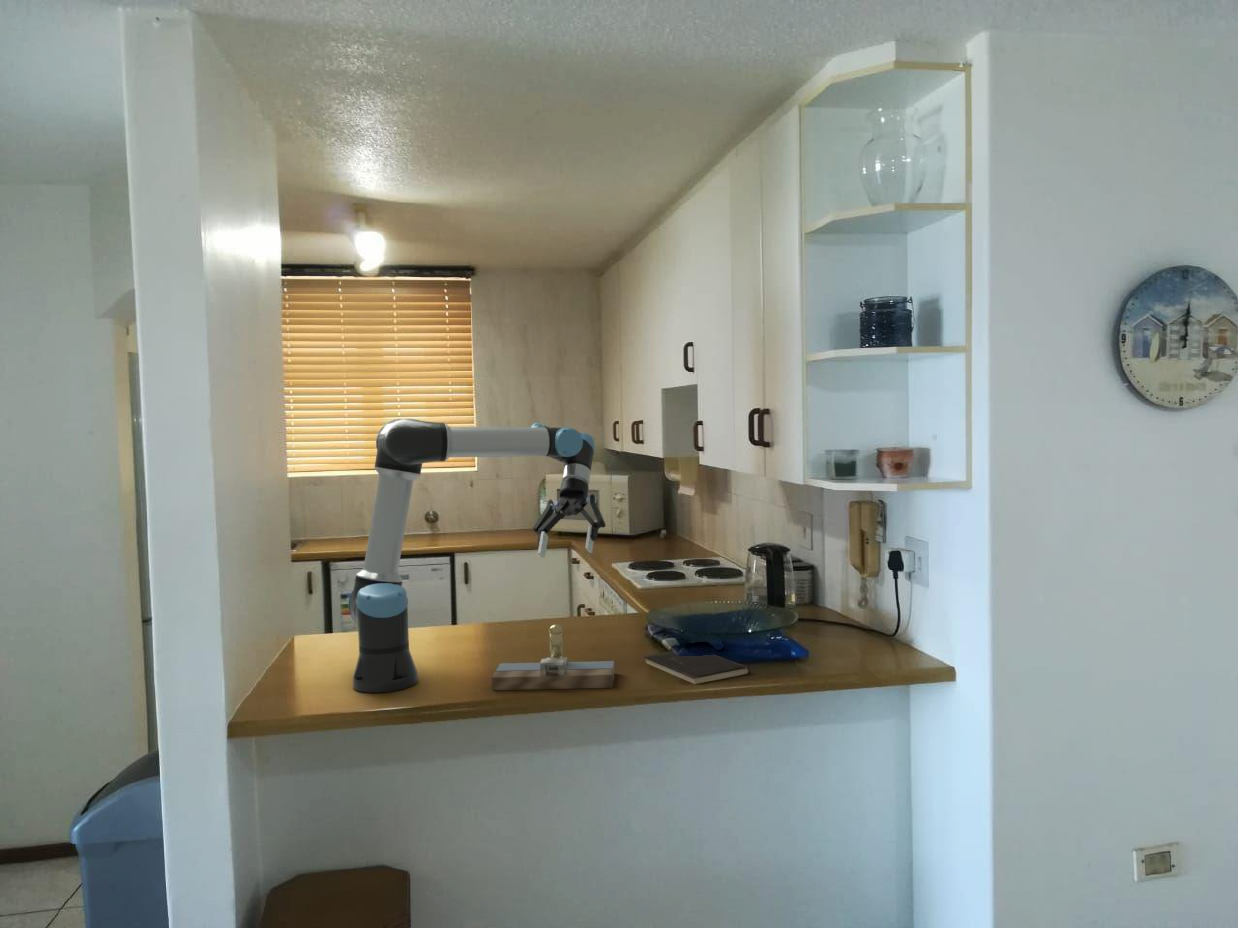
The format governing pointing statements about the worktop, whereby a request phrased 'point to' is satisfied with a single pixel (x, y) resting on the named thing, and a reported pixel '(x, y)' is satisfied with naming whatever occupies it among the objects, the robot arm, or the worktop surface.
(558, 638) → the bolt
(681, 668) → the hardcover book
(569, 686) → the block
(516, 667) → the latch base plate
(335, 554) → the worktop surface
